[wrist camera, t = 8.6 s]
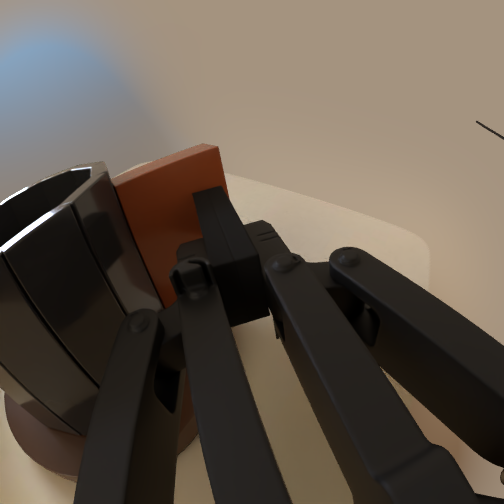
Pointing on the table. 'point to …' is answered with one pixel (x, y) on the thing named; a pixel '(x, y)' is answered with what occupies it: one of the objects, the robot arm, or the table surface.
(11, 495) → the table surface
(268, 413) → the table surface
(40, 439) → the turntable
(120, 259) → the mug
